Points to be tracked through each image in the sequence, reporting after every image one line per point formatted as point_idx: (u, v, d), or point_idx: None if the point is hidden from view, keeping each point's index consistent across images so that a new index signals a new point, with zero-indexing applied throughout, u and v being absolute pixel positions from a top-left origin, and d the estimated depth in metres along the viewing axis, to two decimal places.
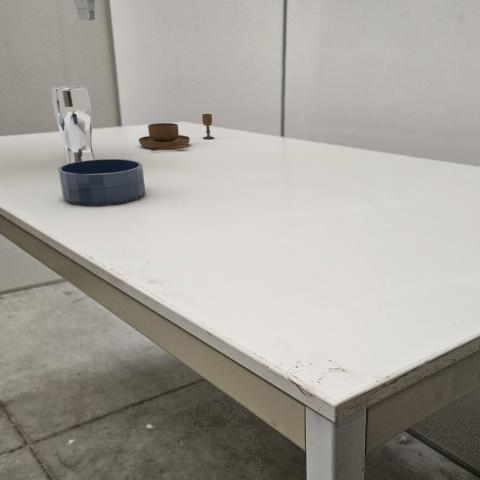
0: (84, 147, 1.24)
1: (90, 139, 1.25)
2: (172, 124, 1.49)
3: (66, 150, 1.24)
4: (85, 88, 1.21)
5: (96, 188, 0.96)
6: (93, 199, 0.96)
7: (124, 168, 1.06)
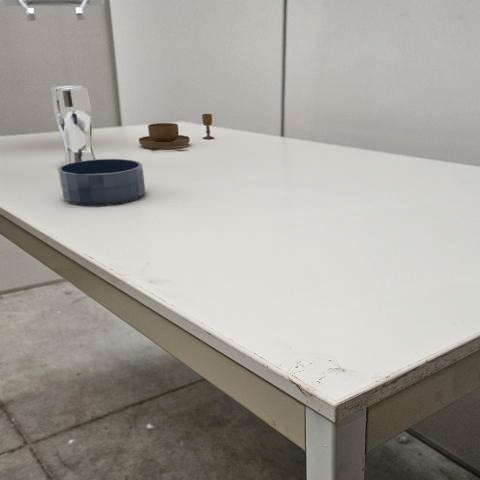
0: (84, 147, 1.24)
1: (90, 139, 1.25)
2: (172, 124, 1.49)
3: (66, 150, 1.24)
4: (85, 88, 1.21)
5: (96, 188, 0.96)
6: (93, 199, 0.96)
7: (124, 168, 1.06)
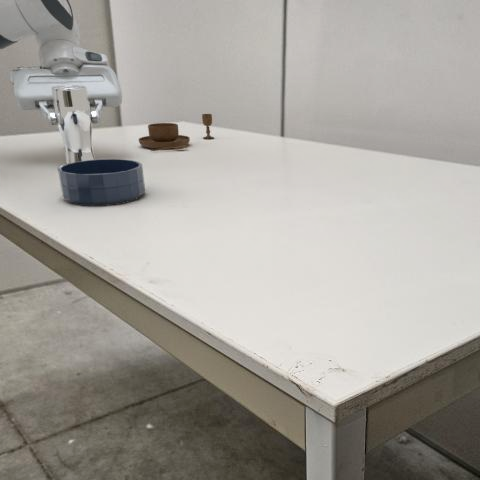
0: (84, 147, 1.24)
1: (90, 139, 1.25)
2: (172, 124, 1.49)
3: (66, 150, 1.24)
4: (85, 88, 1.21)
5: (96, 188, 0.96)
6: (93, 199, 0.96)
7: (124, 168, 1.06)
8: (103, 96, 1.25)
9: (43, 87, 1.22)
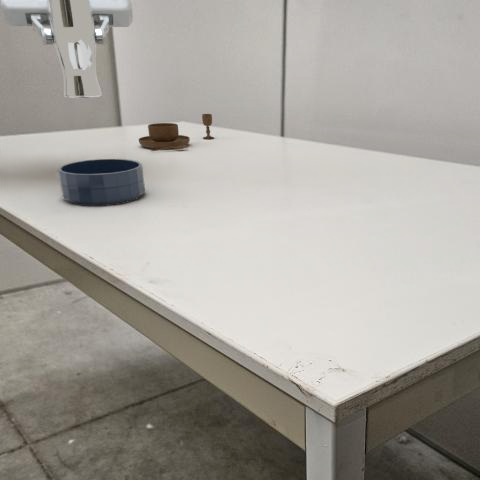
0: (86, 72, 1.01)
1: (94, 63, 1.02)
2: (172, 124, 1.49)
3: (64, 77, 1.01)
4: None
5: (96, 188, 0.96)
6: (93, 199, 0.96)
7: (124, 168, 1.06)
8: (110, 11, 1.02)
9: None
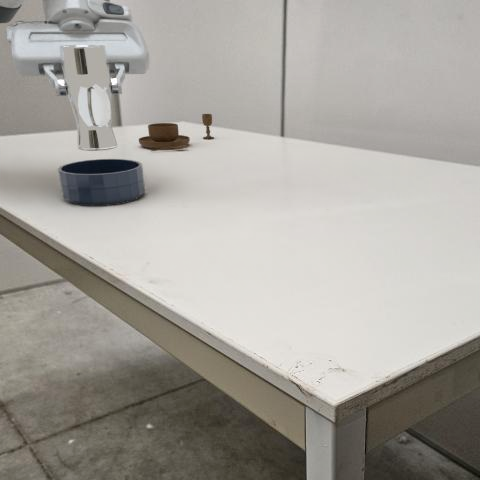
0: (101, 124, 0.96)
1: (109, 114, 0.97)
2: (172, 124, 1.49)
3: (78, 128, 0.96)
4: (103, 47, 0.93)
5: (96, 188, 0.96)
6: (93, 199, 0.96)
7: (124, 168, 1.06)
8: (126, 59, 0.97)
9: (48, 46, 0.94)
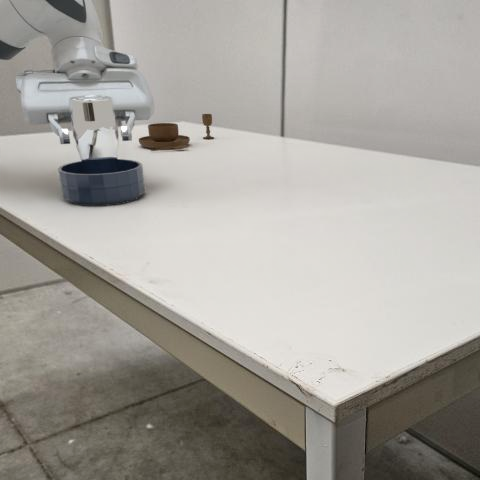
0: (108, 172, 0.99)
1: (116, 162, 1.00)
2: (172, 124, 1.49)
3: None
4: (111, 99, 0.96)
5: (96, 188, 0.96)
6: (93, 199, 0.96)
7: (124, 168, 1.06)
8: (131, 107, 1.01)
9: (57, 96, 0.97)
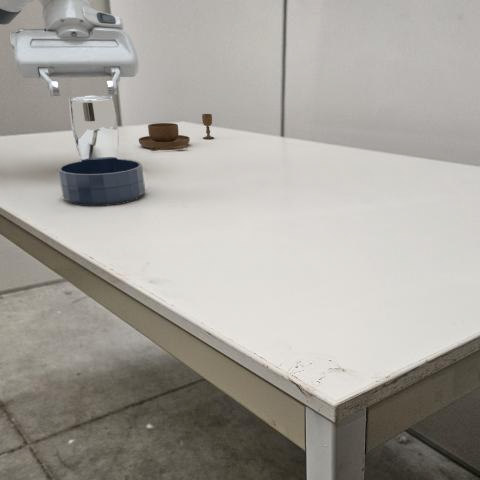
0: (108, 172, 0.99)
1: (116, 162, 1.00)
2: (172, 124, 1.49)
3: None
4: (111, 99, 0.96)
5: (96, 188, 0.96)
6: (93, 199, 0.96)
7: (124, 168, 1.06)
8: (117, 64, 1.09)
9: (47, 52, 1.05)
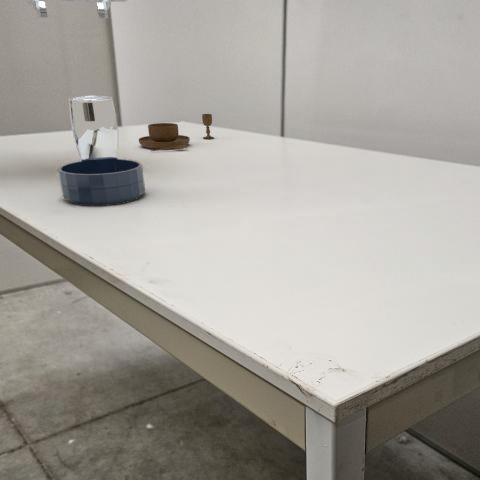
0: (108, 172, 0.99)
1: (116, 162, 1.00)
2: (172, 124, 1.49)
3: None
4: (111, 99, 0.96)
5: (96, 188, 0.96)
6: (93, 199, 0.96)
7: (124, 168, 1.06)
8: None
9: None
